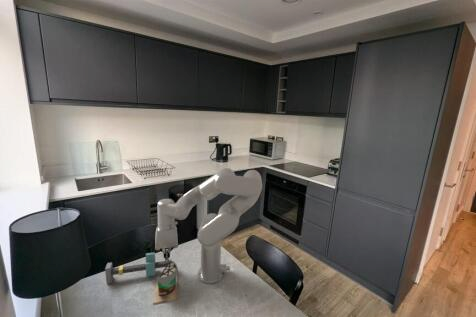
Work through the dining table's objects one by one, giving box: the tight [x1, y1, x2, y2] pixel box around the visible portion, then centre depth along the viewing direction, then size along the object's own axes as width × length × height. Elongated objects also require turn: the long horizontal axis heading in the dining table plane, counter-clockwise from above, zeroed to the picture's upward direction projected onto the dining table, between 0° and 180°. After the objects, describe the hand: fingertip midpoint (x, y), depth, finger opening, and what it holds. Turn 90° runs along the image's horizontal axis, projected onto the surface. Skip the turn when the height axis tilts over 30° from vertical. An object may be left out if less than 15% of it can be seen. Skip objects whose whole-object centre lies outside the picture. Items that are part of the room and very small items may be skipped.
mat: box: [152, 276, 179, 305], centre depth 102 cm, size 10×13×1 cm
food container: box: [156, 259, 179, 296], centre depth 102 cm, size 12×6×10 cm, turn 171°
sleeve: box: [145, 251, 157, 277], centre depth 110 cm, size 4×6×10 cm
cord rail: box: [104, 258, 173, 285], centre depth 109 cm, size 29×4×8 cm, turn 107°
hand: (166, 258), depth 112 cm, fingers closed
